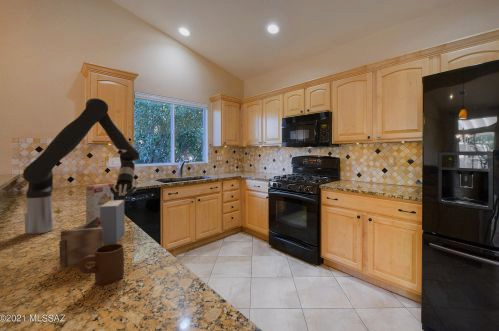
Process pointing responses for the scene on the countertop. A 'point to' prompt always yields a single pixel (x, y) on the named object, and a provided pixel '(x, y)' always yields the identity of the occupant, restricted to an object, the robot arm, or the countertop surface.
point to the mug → (105, 264)
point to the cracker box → (97, 199)
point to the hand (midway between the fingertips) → (120, 203)
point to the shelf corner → (80, 243)
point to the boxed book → (112, 221)
